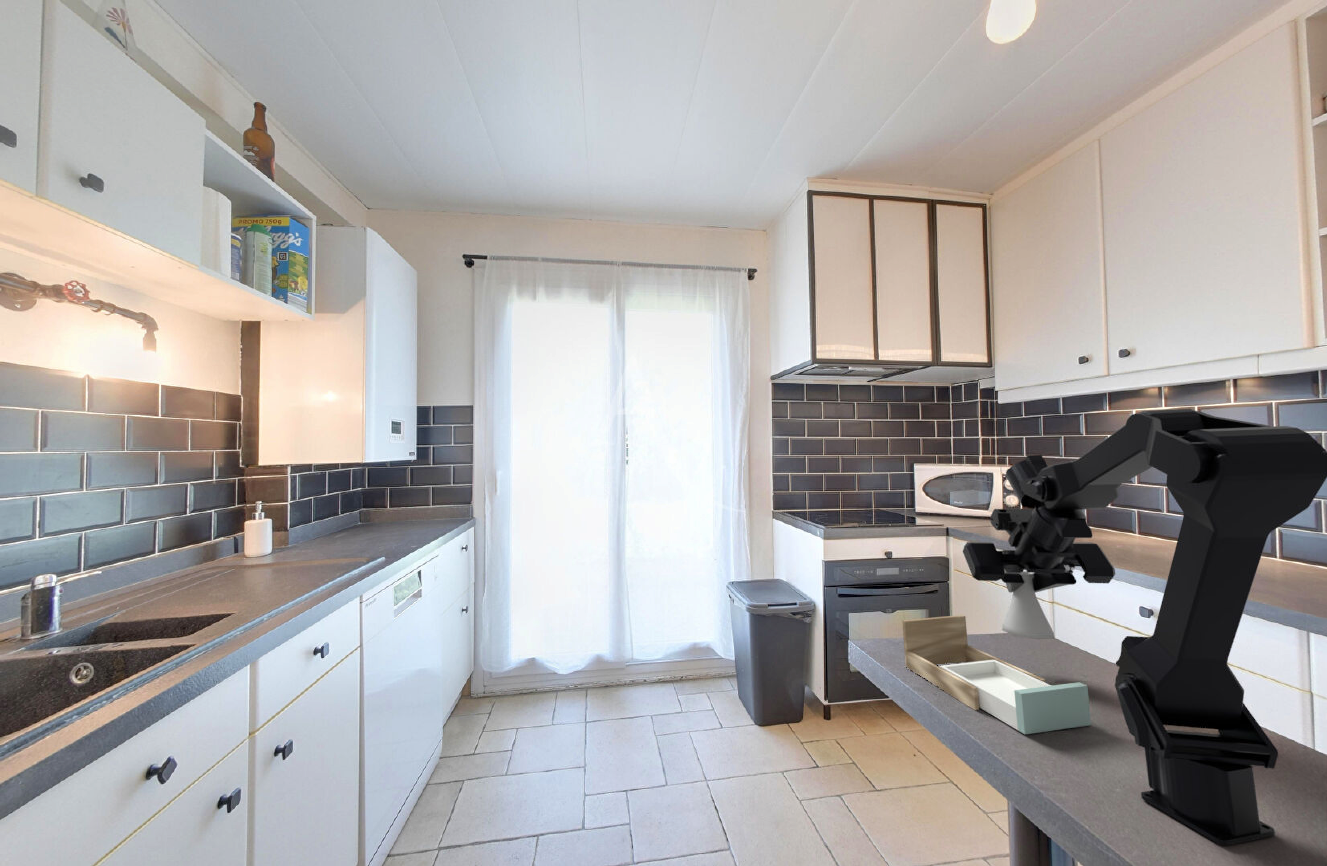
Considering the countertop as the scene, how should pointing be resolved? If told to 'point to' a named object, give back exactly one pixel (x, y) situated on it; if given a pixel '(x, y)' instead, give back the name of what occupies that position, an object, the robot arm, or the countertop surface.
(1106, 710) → the countertop surface
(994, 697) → the tray
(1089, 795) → the countertop surface
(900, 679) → the countertop surface
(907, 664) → the dock
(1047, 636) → the flask
